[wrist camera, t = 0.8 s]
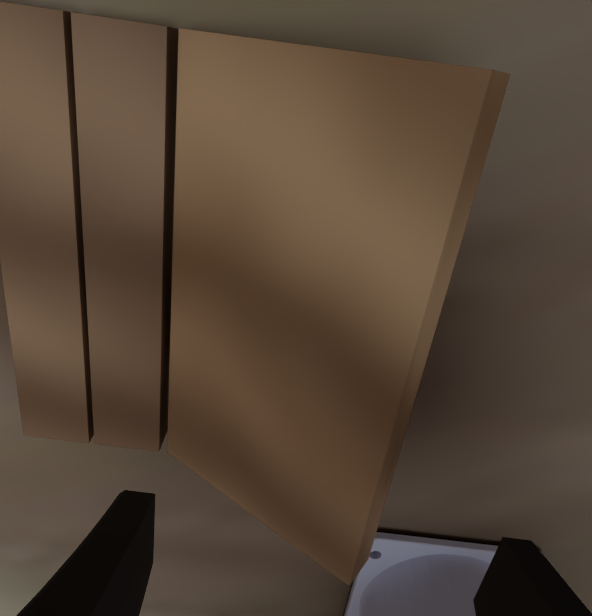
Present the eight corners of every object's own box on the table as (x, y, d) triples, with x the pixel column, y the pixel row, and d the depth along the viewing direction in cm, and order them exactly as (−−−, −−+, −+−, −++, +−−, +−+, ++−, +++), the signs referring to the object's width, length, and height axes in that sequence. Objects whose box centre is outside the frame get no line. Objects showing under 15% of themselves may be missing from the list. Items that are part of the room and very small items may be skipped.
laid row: (167, 430, 20) (159, 451, 19) (39, 414, 20) (23, 435, 19) (178, 29, 14) (166, 26, 13) (-8, 1, 14) (-35, -4, 13)
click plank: (368, 559, 16) (348, 586, 15) (191, 436, 20) (167, 452, 19) (510, 74, 10) (492, 69, 9) (212, 34, 14) (178, 28, 13)
